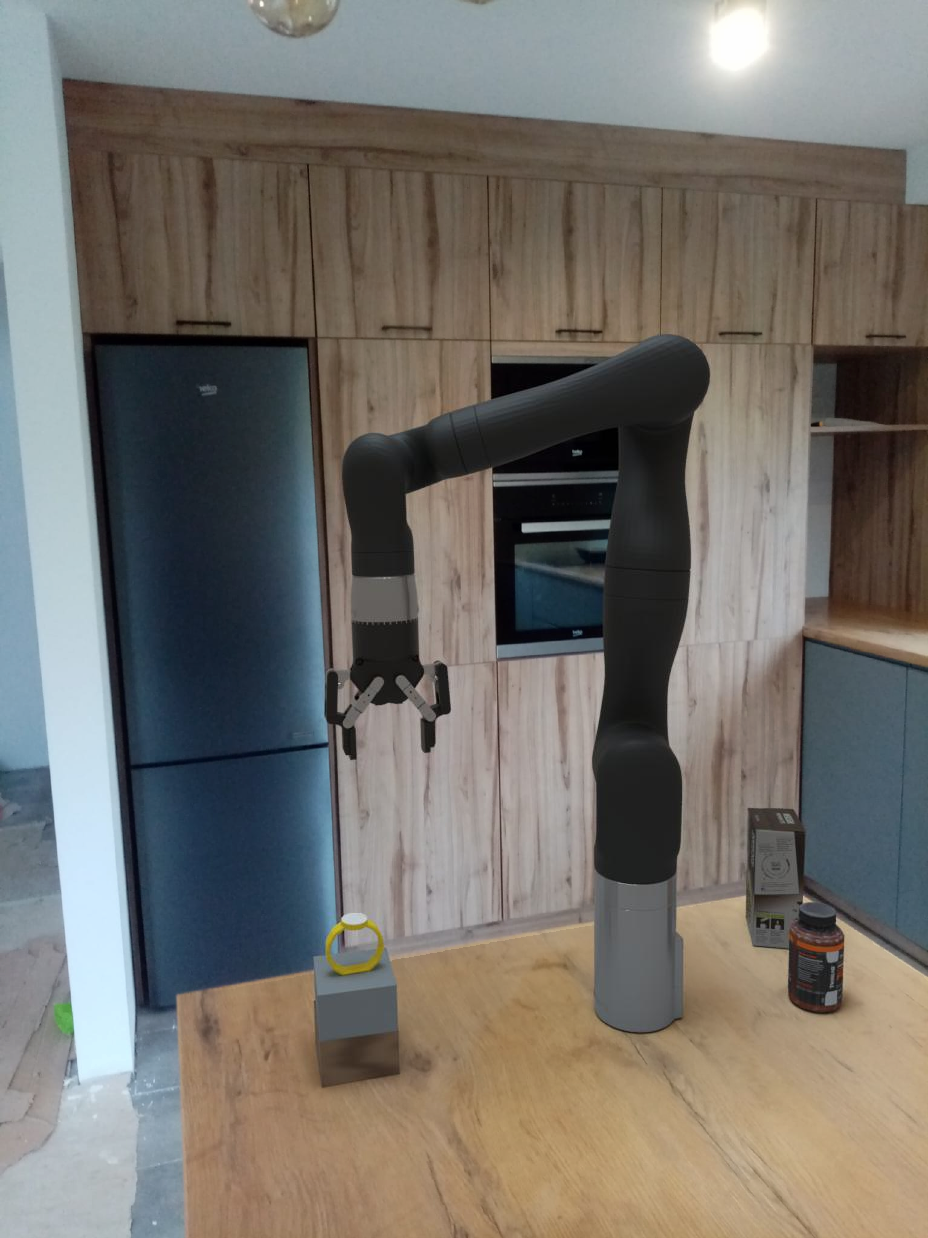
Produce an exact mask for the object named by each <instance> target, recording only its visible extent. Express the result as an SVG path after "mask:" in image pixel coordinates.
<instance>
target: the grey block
mask: <svg viewBox="0 0 928 1238" xmlns="http://www.w3.org/2000/svg"><path fill="white" fill-rule="evenodd" d="M376 949H377V948H371V949H365V950H363V949H362V950H357V951H346V952H340V953H331V957H332V959H333V961H334V962H336V963H337V964H339V965H341V966H342V967H345V966H351V965H357V964H362V963H366V962H367V961H368V960H369V959H370V958H371V957H372V956H373V955H374V954H375V951H376ZM383 950H384V951H383V953H382V956H381V959H380V961H379V963H378V964H377V965H376V966H375V967H374V968H373V969H372V970H371V971H369V972H368V971H367V972H361V973H354V974H348V975H343V976H342V975H341V974H339V973H337V972H336V971H334V970H333V969H332V968H331V966H330V964H329V962H328V960H327V957H326V954H324V955H316V956H313V957H312V958H313V977H314V978H313V980H314V981H313V982H314V999H315V1003H316V1012H317V1022H318V1032H319V1041H320V1042H323V1041H330V1040H337V1039H344V1038H351V1037H357V1036H364V1035H371V1034H378V1033H385V1032H392V1031H398V1032H399V1021H398V1019H399V1016H398V1011H399V1010H398V986H397V981H396V978H395V973H394V970H393V967H392V963H391V960H390V957H389V952H388V949H387V947H384V949H383Z"/></svg>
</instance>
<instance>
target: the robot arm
mask: <svg viewBox="0 0 928 1238" xmlns="http://www.w3.org/2000/svg"><path fill="white" fill-rule="evenodd" d="M710 383H711V369H710V364H709V362H708V359H707V356H706V355H705V354H704V351H703V350H702V349H701V348H700V347H699V346H698V345H697V344H696V343H695V342H693V341H692V340H691V339H689V338H687V337H684V336H681V335H678V334H670V333H667V334H666V333H664V334H663V333H662V334H657V335H653V336H650V337H648V338H646V339H643V340H642V341H641V342H639V343H638V344H636V345H634V346H632V347H630V348H628V349H626V350H624V351H622V352H620V353H618V354H616V355H613V356H611V357H610V358H607V359H606V360H604V361H601V362H600V363H598V364H596V365H593V366H591V367H588V368H586V369H582V370H581V371H578V372H575V373H573V374H571V375H568V376H566V377H563V378H560V379H557V380H554V381H551V382H547V383H545V384H542V385H538V386H535V387H531V388H527V389H525V390H521V391H520V390H519V391H517V392H513V393H510V394H506V395H503V396H498V397H495V398H492V399H488V400H486V401H485V400H484V401H482V402H478V403H475V404H472V405H468V406H465V407H461V408H459V409H455V410H452V411H448V412H445V413H443V414H441V415H437V416H435V417H434V418H432V419H431V420H430V421H428V422H427V424H423V425H420V426H417V427H414V428H410V429H407V430H403V431H401V432H397V433H394V434H389V435H387V434H384V433H379V432H369V433H365V434H362V435H359V436H358V437H356V438H355V439H353V440H352V441H351V443H350V444H349V445H348V446H347V448H346V450H345V452H344V455H343V458H342V464H341V480H342V481H341V484H342V491H343V499H344V503H345V504H344V505H345V509H346V515H347V519H348V525H349V530H350V535H351V536H350V538H351V539H350V540H351V541H350V543H351V544H350V557H351V558H350V559H351V575H352V576H351V588H350V612H351V613H350V617H351V618H350V619H351V641H352V643H351V645H352V647H351V649H352V664H351V667H350V668H349V669H335V668H334V667H328V668H326V669H325V672H324V703H323V704H324V708H323V710H324V712H323V713H324V718H325V720H326V723H328V724H329V725H336V726H339V727H340V728H341V744H342V746H341V748H342V750H343V753H344V755H345V756H348V758H349V760H350V761H356V760H357V759H358V758H357V757H358V756H357V755H358V753H357V750H358V749H357V731H356V730H357V729H356V726H355V723H356V721H357V720H358V719H359V717H360V716H361V715H362V714H363V713H364V712H365V711H366V709H367V708H368V707H369V705H370V704H372V705H375V707H378V706H384V705H387V704H393V705H402V704H404V702H407V700H409V701H410V702H411V703H412V705H413V706H414V707H415V708H416V709H417V711H419V713H420V714H421V715H422V717H420V719H419V720H420V723H419V725H420V748H421V751H422V752H423V753H424V754H427V753H429V754H430V753H431V752H432V751H431V749H432V748H435V746H436V743H437V741H436V740H437V739H436V737H437V736H436V720H438V718H440V717H442V716H445V715H449V714H451V712H452V706H451V693H450V683H449V669H448V665H447V664H445V663H444V662H442V661H441V660H435V661H433V663H427V664H423V663H422V662H421V659H420V640H419V638H420V637H419V634H420V633H419V612H420V605H419V602H418V600H419V598H418V589H417V583H416V575H415V573H416V571H415V551H414V550H415V548H414V547H415V544H414V536H413V531H412V529H411V527H410V525H409V523H408V519H407V516H408V515H407V514H408V513H407V495H408V494H411V493H413V492H416V491H419V490H421V489H425V488H427V487H430V486H433V485H435V484H437V483H440V482H442V481H446V480H449V479H454V478H455V479H456V478H460V477H464V476H468V475H473V474H475V473H478V472H482V471H483V472H484V471H486V470H488V469H489V470H490V469H492V468H495V467H496V468H497V467H500V466H502V465H505V464H509V463H511V462H514V461H517V460H519V459H522V458H525V457H527V456H530V455H532V454H533V455H534V454H536V453H538V452H540V451H542V450H546V449H547V448H550V447H553V446H555V445H558V444H560V443H563V442H566V441H568V440H571V439H574V438H578V437H581V436H585V435H587V434H593V433H596V432H599V431H604V430H608V429H614V428H615V429H616V428H618V429H617V432H618V473H617V474H618V476H617V481H616V482H617V484H616V490H615V494H614V498H613V499H614V501H613V504H612V510H611V516H610V523H609V528H608V536H607V545H606V553H605V560H604V561H605V562H604V565H605V567H604V578H603V579H604V580H603V596H602V598H603V602H602V603H603V604H602V605H603V609H602V610H603V611H602V634H603V635H602V643H603V662H604V677H603V678H604V683H603V691H602V698H601V704H600V705H601V706H600V711H599V718H598V722H597V723H598V724H597V729H596V734H595V738H594V739H595V740H594V745H593V750H592V756H591V768H592V769H591V770H592V773H593V777H594V779H595V798H596V799H595V821H596V822H595V841H594V845H593V904H594V905H593V911H594V912H593V923H594V924H593V929H594V930H593V938H594V939H593V940H594V941H593V943H594V944H593V950H594V953H593V963H594V964H593V968H594V969H593V983H594V984H593V998H594V999H593V1002H594V1003H593V1004H594V1005H593V1006H594V1011H595V1014H596V1016H597V1017H598V1018H600V1020H602V1022H604V1023H605V1024H607V1025H609V1026H610V1027H613V1028H616V1029H619V1030H620V1031H621V1030H622V1031H625V1032H631V1033H651V1032H656V1031H660V1030H662V1029H664V1028H666V1027H667V1026H669V1025H670V1024H672V1022H673V1021H675V1020H676V1019H681V1018H682V1019H683V1016H684V1015H683V1013H684V1008H683V1007H684V1000H683V999H684V945H685V944H684V939H683V936H682V935H681V934H680V933H679V932H677V895H678V894H677V893H678V892H677V889H678V888H677V884H678V883H677V882H678V881H677V880H678V877H677V873H678V872H677V871H678V856H679V854H680V850H681V845H682V843H681V842H682V821H683V819H682V818H683V775H682V768H681V764H680V762H679V759H678V757H677V756H676V754H675V752H674V751H673V750H672V748H671V746H670V741H669V727H668V726H669V724H668V723H669V721H668V716H669V715H668V714H669V713H668V709H669V708H668V703H669V702H668V700H669V697H668V696H669V684H670V677H671V673H672V669H673V665H674V661H675V659H676V657H677V652H678V650H679V646H680V643H681V640H682V637H683V632H684V629H685V623H686V619H687V615H688V614H687V613H688V607H689V598H690V586H691V585H690V584H691V568H692V544H691V543H692V542H691V527H690V526H691V525H690V517H689V515H690V514H689V508H688V500H687V499H688V498H687V492H686V489H687V488H686V468H687V459H688V450H689V446H690V445H689V443H690V435H691V430H692V424H693V420H694V415H695V412H696V411H697V410H698V408H699V407H700V406H701V405H702V404H703V401H704V399H705V398H706V395H707V393H708V390H709V387H710ZM424 675H427V677H428V679H429V680H430V681H431V682H432V683H433V685H434V694H435V695H434V697H435V703H434V704H432V705H429V704H428V703H427V701H425V699H424V698H423V697H422V696H421V695H420V693H419V692H418V691H417V690H416V688H417V687H418V685H419V683H420V682H421V681H422V679H423V678H424ZM348 680H350V681H351V682H352V683H353V685H354V686H355V687H356V689H357V691H356V692H355V693H354V694H353V696H352V698H351V699H350V700H349V704H348V705H347V706H346V708H345V709H344V710H343V712H339V711H338V705H339V704H338V703H339V702H338V699H339V698H338V695H339V693H338V692H339V690H342V689H343V688H344V687H345V684H346V682H347V681H348Z"/></svg>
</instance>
